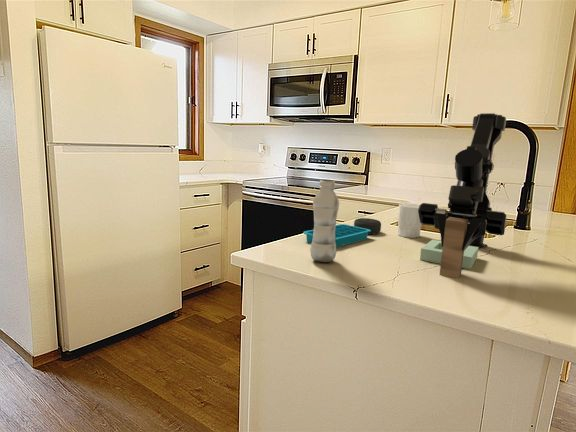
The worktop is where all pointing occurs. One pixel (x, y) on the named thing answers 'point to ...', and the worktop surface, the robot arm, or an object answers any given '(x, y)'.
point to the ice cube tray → (344, 234)
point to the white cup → (409, 220)
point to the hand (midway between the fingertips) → (452, 247)
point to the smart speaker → (368, 225)
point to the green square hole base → (434, 254)
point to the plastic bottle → (324, 222)
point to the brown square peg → (453, 247)
